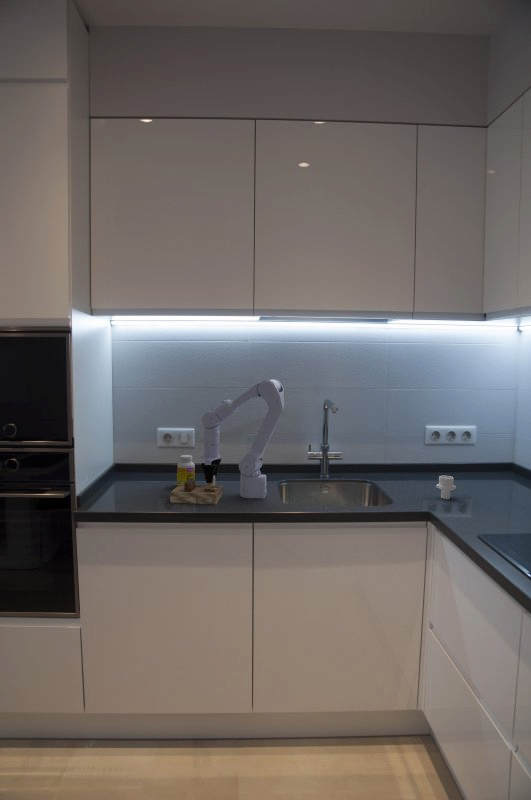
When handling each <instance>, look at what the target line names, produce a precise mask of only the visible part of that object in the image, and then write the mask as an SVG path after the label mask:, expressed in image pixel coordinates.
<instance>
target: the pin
mask: <svg viewBox="0 0 531 800" xmlns="http://www.w3.org/2000/svg"><path fill="white" fill-rule="evenodd" d="M206 486H216V478H215V475H214V476H213V481H212V483H206Z"/></svg>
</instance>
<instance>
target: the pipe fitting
mask: <svg viewBox="0 0 531 800" xmlns="http://www.w3.org/2000/svg"><path fill="white" fill-rule="evenodd" d="M454 480H455V478H454V477H453V476H451V475H439V476H438V484H436V485H435V488H437V489H439V490H441V491H440V498H441V499H442V498H443V500H450V498H451V491H455V490H456V489H457V486H456V485H454V483H455V481H454Z"/></svg>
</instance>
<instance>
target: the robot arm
mask: <svg viewBox="0 0 531 800" xmlns="http://www.w3.org/2000/svg"><path fill="white" fill-rule="evenodd" d="M284 392H285V388H284V387H283V385H282V383H281V381H280V380H279V379H277V378H271V379H263V380H262V381H260V382H259V383H256V384H254V385H253V386H251V387H249V388H248V389H247V390H245V391H244V392H243V393H241V394H239V395H238V396H236V398H234V399H233V400H232V399H227V400H226V399H224V400H222V401H221V403H220V404H219V405H218V406H216V407H212V408H211V411H206V412H205V413H204V414H203V415H202V416H201V423H202V425H203V426H204V427H203V454H201V455H200V458H201V459H204V462H201V463H200V467H201V469H202V471H203V474H204V478H205V482H206V484H207V483H212V481H213V476H214V475H215V479H216V478H217V475H218V470H219V467H220V464H221V462H222V458H221V455H220V436H221V435H220V433H221V432H220V428H221V427H220V426H221V424H222V423H223V422H225V421H226V420H228V419H229V418H231V417H232V416H233V415H235V414H237V413H238V409H239V407H241V406H243V405H244V404H246V403H249V401H251V400H252V399H254V398H262V399H263V400H264V401H265V403H266V404H267V407H268V410H267V413H266V415H265V417H264V419H263V420H262V423H261V425H260V427H259V430H257V431H258V432H257V434H256V436H255V438H254V440H253V442H252V444H251V446H250V448H249V450H247V452H246V453H245V455H244V457H243V458H241V459H240V461H239V463H238V470H239V471H240V495H239V496H240V497H241V498H245V499H265V498H266V496H267V494H268V493H267V492H268V490H267V475H266V474H262V472H261V470H260V469H261V468H262V467H263V464H264V461H263V460H264V456H265V451H266V449H267V447H268V445H269V442H270V440H271V437H272V436H273V433H274V432H275V430H276V428H277V425H278V423H279V421H280V420H281V417H282V415H283V413H284V411H285V409H286V408H285V407H286V406H285V405H286V404H285V399H284V398H285V397H284V396H285V395H284Z"/></svg>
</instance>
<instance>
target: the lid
mask: <svg viewBox="0 0 531 800" xmlns="http://www.w3.org/2000/svg"><path fill="white" fill-rule="evenodd" d="M195 485H196V479H195V480H194V479H188V480H187V481H186V482H185V483H184V486H177V485H176V487H175V488H174V489H172V491H171V492H190V493H212V494H217V496H218V495H219V493H220V492H221V488H211V487H195Z"/></svg>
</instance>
